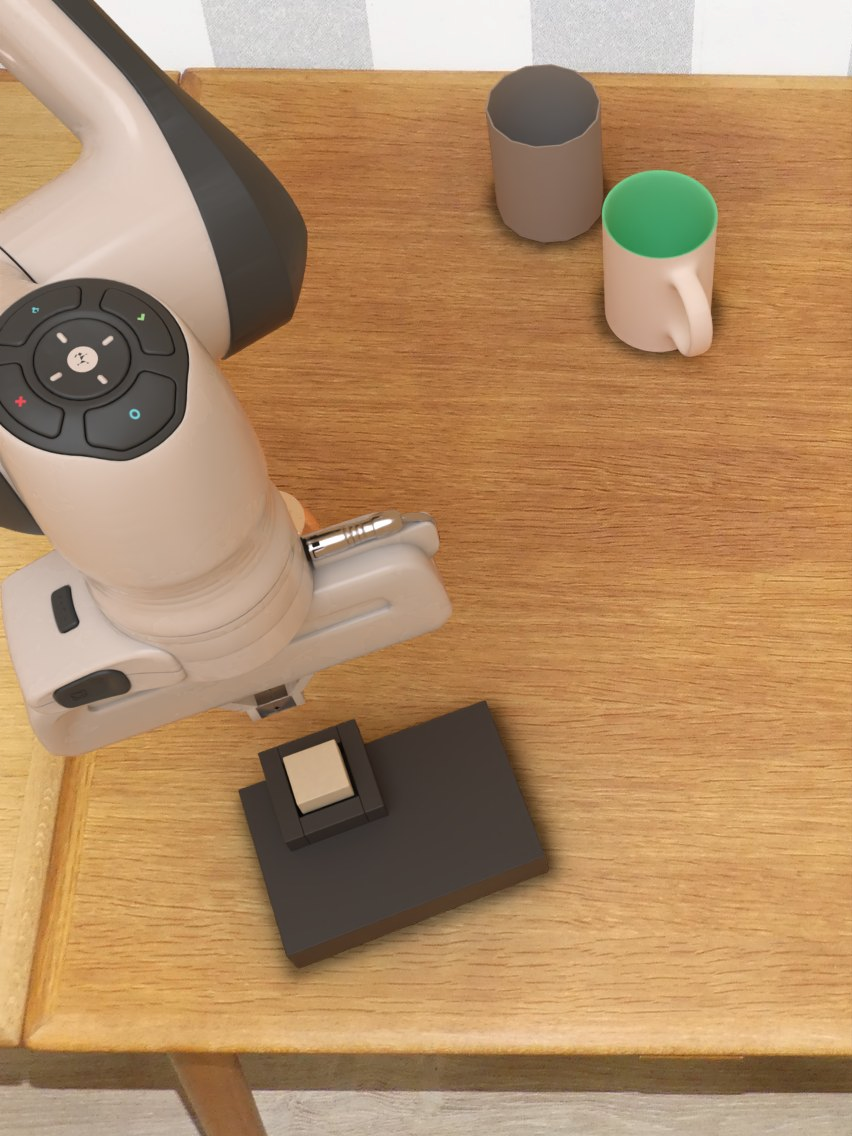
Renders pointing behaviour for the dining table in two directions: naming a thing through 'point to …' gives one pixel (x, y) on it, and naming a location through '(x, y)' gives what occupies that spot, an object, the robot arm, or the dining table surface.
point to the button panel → (391, 832)
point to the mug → (660, 262)
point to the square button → (318, 776)
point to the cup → (546, 152)
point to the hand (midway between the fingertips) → (276, 700)
